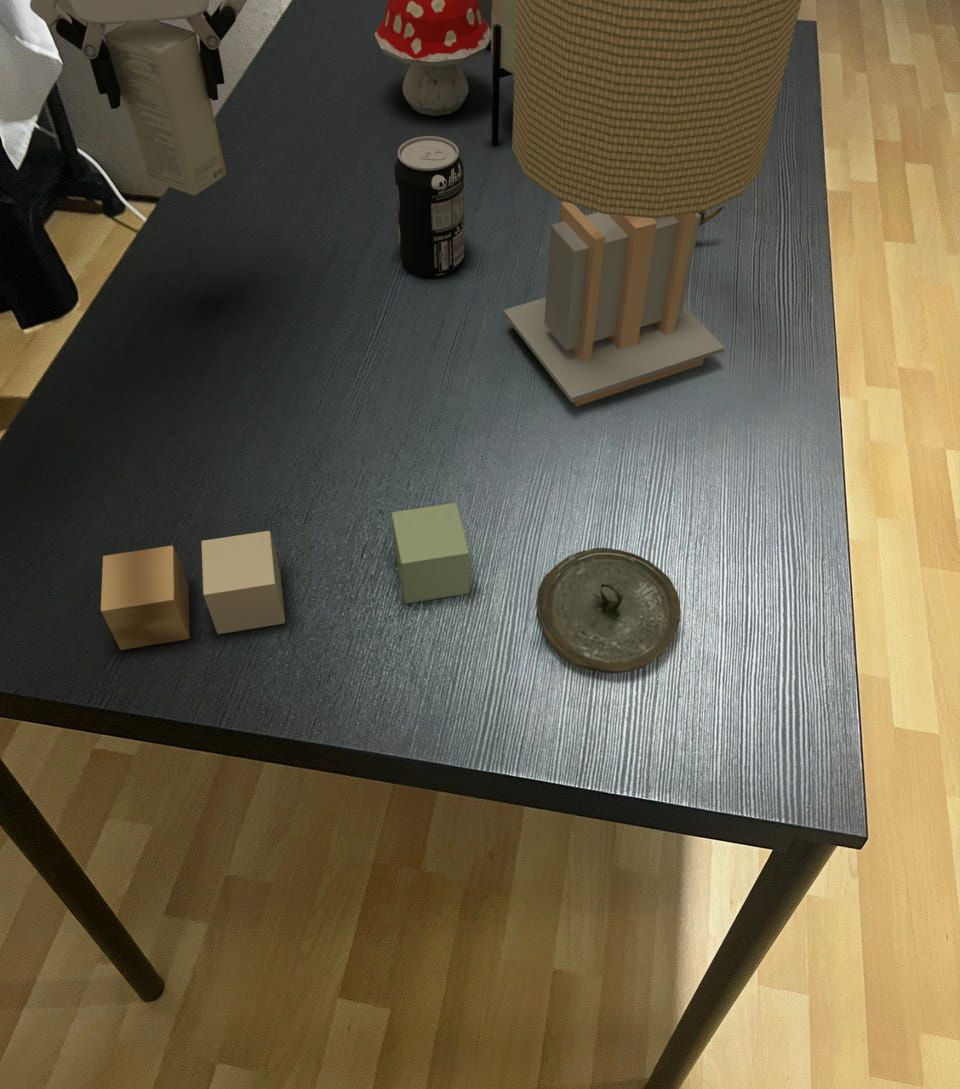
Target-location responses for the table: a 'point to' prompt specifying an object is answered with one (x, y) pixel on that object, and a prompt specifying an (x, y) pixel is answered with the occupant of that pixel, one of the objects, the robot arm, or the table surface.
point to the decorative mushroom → (434, 49)
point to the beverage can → (430, 205)
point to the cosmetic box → (167, 104)
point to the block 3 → (431, 552)
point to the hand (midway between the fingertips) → (164, 95)
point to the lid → (608, 610)
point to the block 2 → (242, 582)
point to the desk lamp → (636, 169)
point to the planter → (501, 52)
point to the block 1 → (145, 597)
